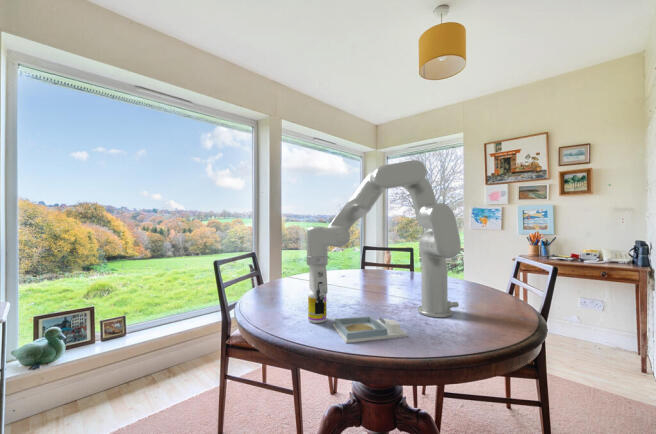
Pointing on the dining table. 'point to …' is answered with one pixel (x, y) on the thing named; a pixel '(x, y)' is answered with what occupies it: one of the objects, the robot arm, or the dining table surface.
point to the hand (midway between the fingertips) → (317, 310)
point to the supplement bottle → (311, 309)
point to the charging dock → (367, 329)
